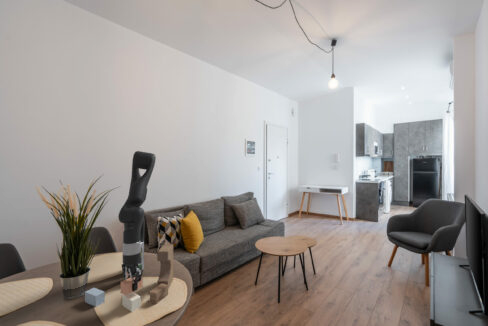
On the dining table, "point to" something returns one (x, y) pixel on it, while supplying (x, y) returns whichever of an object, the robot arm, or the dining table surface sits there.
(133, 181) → the robot arm
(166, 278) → the decorative block
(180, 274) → the dining table surface
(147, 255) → the dining table surface
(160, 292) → the walnut brick
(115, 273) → the dining table surface
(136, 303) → the cream brick
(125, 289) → the terracotta brick
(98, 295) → the slate brick
